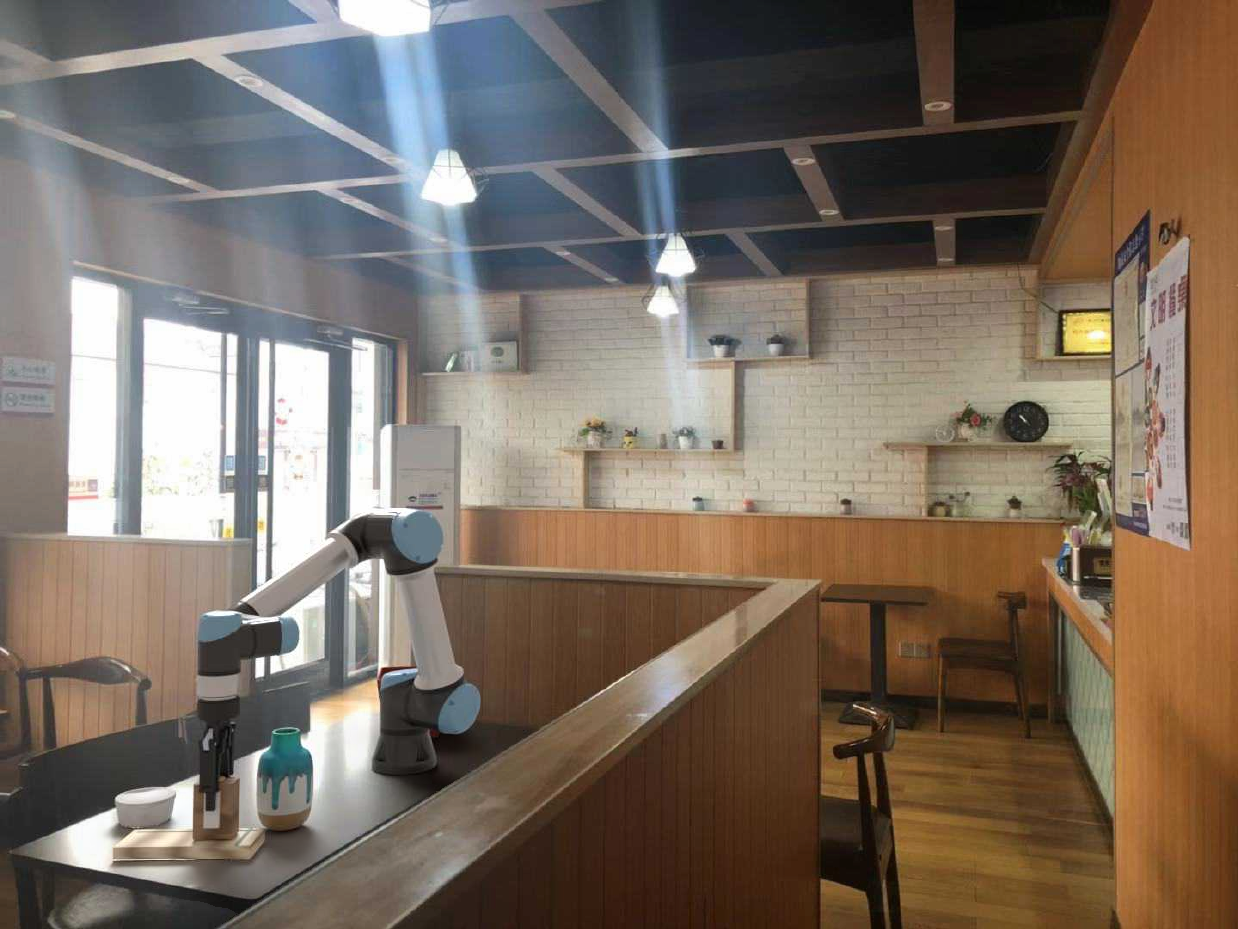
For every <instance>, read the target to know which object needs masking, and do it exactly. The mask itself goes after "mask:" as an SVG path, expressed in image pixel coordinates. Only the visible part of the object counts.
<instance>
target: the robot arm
mask: <svg viewBox="0 0 1238 929" xmlns="http://www.w3.org/2000/svg"><path fill="white" fill-rule="evenodd" d="M442 545H444V531H443V529H442V526H441V524H440V521H439V520H438V519H437V518H436V517H435V516H434V515H433V514H432V513H430V512H428V511H426V510H424V509H416V508H414V507H406V508H396V507H395V508H393V507H374V508H370V509H368V510H364V511H363V512H360V513H358V514H355V515H354V516H352V517H351V518H349V519H347V520H346V521H344V522H343V523H341V524H340V525H337V527H335V528H334V529H333V530H330V531H329V532H328V533H327V534H326V535H325V540H324V541H323V542H322V543H320V544H318V545H317V546H316V547H315V548H313V549H311V550H309V552H307V553H306V554H305V555H303V556H302V557H300V558H299V559H297V560H296V561H295V562H292V563H291V564H290V565H289V566H288V567H286V568H284V569H283V570H282V571H280V572H279V573H277V574H275V575H274V577H271V578H270V579H268V580H267V581H266V582H264V583H263V584H262V585H260V586H259V587H257V588H256V589H255V590H253V591H252V592H250V593H248V595H246V596H245V597H243V598H242V599H240V600H239V601H238V602H236V603H235V604H233V605H232V606H230V607H229V608H227V609H226V610H225V609H218V610H213V611H210V612H205V613H203V614H202V615H200V617H199V620H198V626H197V636H196V640H197V666H196V669H197V677H196V678H195V679H194V683H195V684H197V685H196V695H197V696H198V698H197V699H196V706H195V707H196V708H195V709H196V710H195V713H196V714H195V717H196V719H197V720H200V721H204V722H205V723H206V725H205V727H204V728H205V729H204V730H203V736H202V737H203V738H199V739H198V750H199V772H198V773H199V776H198V777H199V779H198V780H199V793H204V821H203V828H219V827H220V799H221V791H219V778H220V776H225V778H235V776H233V775H234V773H235V770H234V769H235V768H234V767H235V766H234V765H235V739H236V738H235V736H236V729H237V723H236V722H232V719H236V718H238V717H239V716H240V713H241V697H240V695H239V694H240V693H241V691H242V689H241V688H242V661H248V660H252V659H253V660H255V659H261V658H270V657H274V656H277V657H279V656H281V655H285V654H289V653H293V651H295V649H296V648H297V647H298V645H299V642H300V633H301V632H300V628H299V625H298V623H297V621H296V620H295V619H294V618H293V617H292V616H290V615H283V614H284V613H286V612H288V611H289V610H290V609H291V608H293V607H294V606H295V605H297V604H298V603H300V602H301V601H303V600H304V599H305V598H307V597H308V596H310V595H311V594H312V593H313V592H315V591H316V590H318V589H319V588H320V587H321V586H323V585H324V584H325V583H327V582H328V581H329V580H331V579H332V578H334V577H335V576H336V575H338V574H339V573H340V572H342V571H343V570H344V569H353V568H356V566H358V565H359V564H361V563H363V562H366V561H368V560H369V561H370V560H373V559H374V560H375V559H377V560H383V563H384V567H385V571H386V574H387V575H388V576H389V577H391V578H393V579H394V580H395V582H396V586H397V590H398V591H397V592H398V594H399V599H400V603H401V607H402V612H403V616H404V619H405V623H406V627H407V633H408V636H409V640H410V641H409V642H410V644H411V648H412V652H413V657H414V661H415V666H417V668H415V669H405V670H398V671H393V672H389V673H386V674H385V675H383V677H382V679H381V689H380V699H379V722H380V723H379V737H378V740H377V743H376V745H375V749H374V752H373V755H372V758H371V769H372V770H373V771H374V772H376V773H380V774H382V775H391V776H405V775H407V776H408V775H415V774H420V773H424V772H427V771H430V770H432V769H434V768H435V767H436V766H437V754H436V751H435V748H434V744H433V742H432V738H431V737H430V734H429V729H431V730H436V731H440V732H439V733H442V734H446V735H447V734H451V735H452V734H453V735H457V734H459V735H460V734H461V733H464V732H466V731H467V730H468V729H470V727H471V726H472V725H473V724H474V723H475V721H476V719H477V716H478V714H479V712H480V709H481V695H480V691H479V689H478V688H477V687H476V686H475V685H473V684H472V683H468V682H467V680H466V675H465V671H464V668H463V667H462V666H460V665H458V664H456V661H455V658H454V653H453V650H452V649H453V647H452V643H451V640H450V637H449V635H450V634H449V632H448V626H447V623H446V618H445V614H444V610H443V605H442V601H441V597H440V592H439V589H438V584H437V579H436V575H435V572H434V569H435V568H436V566H438V565H437V564H438V563H439V559H438V557H439V555H440V553H441V552H442Z"/></svg>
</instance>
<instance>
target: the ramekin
mask: <svg viewBox="0 0 1238 929" xmlns="http://www.w3.org/2000/svg"><path fill="white" fill-rule="evenodd" d="M176 798H177V791H176V790H175V789H173V788H171V787H164V786H151V787H142V788H136V789H131V790H128V791H124V792H122V793H120V794H118V795H116V796H115V799H114V805H115V807H116V816H117V821H118V823H119V825H121V827H123V826H126V827H125V828H127V827H135V828H134V829H138V828H137V827H146V828H149V827H148V826H152V827H154V826H153V825H156V826H158V825H157V824H159V825H162V824H164V823H165V822H168V819H169V820H170V818H171V817H172V815H173V812H174V805H175V801H176V800H175V799H176ZM163 822H164V823H163ZM161 823H162V824H161Z"/></svg>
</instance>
